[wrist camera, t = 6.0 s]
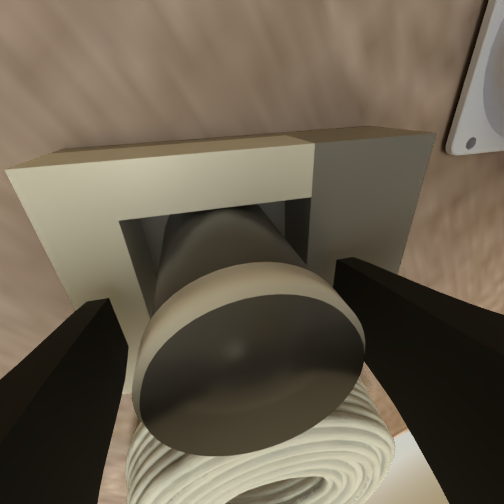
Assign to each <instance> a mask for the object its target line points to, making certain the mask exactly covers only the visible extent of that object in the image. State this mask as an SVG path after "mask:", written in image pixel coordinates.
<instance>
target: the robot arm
mask: <svg viewBox="0 0 504 504" xmlns="http://www.w3.org/2000/svg"><path fill="white" fill-rule="evenodd" d="M467 141H468V143H467ZM466 143H467V145H466ZM497 151H504V0H489V1H488V5H487V8H486V11H485V15H484V18H483V22H482V25H481V28H480V32H479V35H478V38H477V42H476V45H475V49H474V52H473V55H472V59H471V62H470V65H469V69H468V72H467V75H466V79H465V82H464V86H463V89H462V92H461V96H460V99H459V102H458V106H457V109H456V112H455V116H454V119H453V123H452V126H451V129H450V133H449V136H448V139H447V143H446V152H447V153H448V154H451V155H456V156H458V155H468V154H478V153H487V152H497ZM333 289H334V290H335V291H336V292H337V293H338V294H339V296H340V297H341V298H342V299H343V300H344V302H345V303H346V304H347V305H348V306H349V308H350V309H351V310H352V311H353V312H354V314H355V315H356V316H357V318H358V320H359V321H360V323H361V325H362V328H363V331H364V336H365V353H364V362H365V363H366V364H367V366H368V367H369V369H370V370H371V371H372V373H373V374H374V376H375V377H376V379H377V380H378V381H379V383H380V384H381V386H382V387H383V388H384V390H385V391H386V393H387V394H388V396H389V397H390V399H391V400H392V402H393V403H394V405H395V406H396V408H397V410H398V411H399V413H400V415H401V417H402V418H403V420H404V422H405V423H406V425H407V427H408V429H409V430H410V432H411V434H412V435H413V437H414V439H415V441H416V442H417V444H418V446H419V448H420V450H421V451H422V453H423V455H424V457H425V459H426V460H427V462H428V464H429V466H430V468H431V469H432V471H433V473H434V475H435V477H436V479H437V480H438V482H439V484H440V486H441V488H442V490H443V492H444V494H445V496H446V498H447V500H448V502H449V504H504V315H502V314H499V313H496V312H493V311H490V310H487V309H484V308H481V307H478V306H475V305H472V304H469V303H467V302H464V301H461V300H459V299H456V298H453V297H451V296H448V295H446V294H443V293H440V292H438V291H435V290H433V289H430V288H428V287H425V286H423V285H421V284H418V283H416V282H413V281H411V280H409V279H406V278H404V277H402V276H399V275H397V274H395V273H392V272H390V271H388V270H385V269H383V268H381V267H378V266H376V265H373V264H371V263H369V262H366V261H363V260H361V259H358V258H355V257H349V258H343V259H337V260H336V267H335V274H334V282H333ZM128 349H129V346H128V343H127V341H126V338H125V336H124V334H123V331H122V329H121V326H120V324H119V321H118V319H117V316H116V314H115V311H114V309H113V306H112V304H111V301H110V299H109V298H105V299H99V300H93V301H87V302H85V303H84V304H83V305H82V306H81V307H79V308H78V309H77V310H76V311H75V312H74V313H73V314H72V315H71V316H70V317H68V318H67V319H66V320H65V321H64V322H63V323H62V324H61V325H60V326H59V327H58V328H57V329H56V330H55V331H53V332H52V333H51V334H50V335H49V336H48V337H47V338H46V339H45V340H44V341H43V342H42V343H41V344H39V345H38V346H37V347H36V348H35V349H34V350H33V351H32V352H31V353H30V354H29V355H28V356H26V357H25V358H24V359H23V360H22V361H21V362H20V363H19V364H18V365H17V366H15V367H14V368H13V369H12V370H11V371H10V372H9V373H7V374H6V375H5V376H4V377H3V378H2V379H0V504H97V503H98V496H99V490H100V485H101V480H102V475H103V470H104V466H105V462H106V458H107V454H108V449H109V445H110V441H111V437H112V433H113V429H114V425H115V421H116V417H117V413H118V408H119V404H120V400H121V396H122V392H123V387H124V383H125V377H126V369H127V360H128Z"/></svg>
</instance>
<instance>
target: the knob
mask: <svg viewBox="0 0 504 504" xmlns="http://www.w3.org/2000/svg"><path fill="white" fill-rule="evenodd" d="M364 353H365V336H364V331H363V328H362V325H361V323H360V321H359V320H358V318H357V316H356V315H355V314H354V312H353V311H352V310H351V309H350V308H349V306H348V305H347V304H346V303H345V302H344V300H343V299H342V298H341V297H340V296H339V294H338V293H337V292H336V291H335V290H334V289H333V288H332V286H331V285H330V284H329V283H328V282H327V281H325V280H324V279H323V278H321V277H320V276H319V275H317V274H315V273H313V272H311V271H310V269H309V268H308V267H307V266H306V264H305V263H304V262H303V261H302V259H301V258H300V257H299V256H298V254H297V253H296V252H295V250H294V249H293V248H292V247H291V245H290V244H289V243H288V242H287V240H286V239H285V238H284V237H283V235H282V234H281V233H280V231H279V230H278V229H277V228H276V226H275V225H274V224H273V223H272V221H271V220H270V219H269V218H268V216H267V215H266V214H265V213H264V211H263V210H262V209H261V207H260V206H259V205H258V204H251V205H243V206H235V207H227V208H219V209H210V210H202V211H194V212H186V213H178V214H170V216H169V218H168V220H167V223H166V226H165V231H164V237H163V244H162V251H161V257H160V264H159V271H158V278H157V284H156V291H155V298H154V304H153V311H152V318H151V320H150V321H149V323H148V325H147V326H146V328H145V331H144V333H143V335H142V338H141V342H140V346H139V351H138V356H137V362H136V367H135V373H134V378H133V384H132V401H133V406H134V409H135V412H136V414H137V416H138V418H139V419H140V421H141V422H142V423H143V425H144V426H145V427H146V428H147V429H148V431H149V432H150V433H151V435H153V436H154V437H155V438H156V439H157V440H158V441H160V442H161V443H163V444H164V445H166V446H168V447H170V448H172V449H175V450H177V451H181V452H184V453H187V454H193V455H199V456H233V455H240V454H246V453H251V452H255V451H259V450H263V449H266V448H270V447H272V446H275V445H278V444H281V443H283V442H285V441H288V440H290V439H292V438H294V437H296V436H298V435H300V434H302V433H304V432H306V431H307V430H309V429H311V428H312V427H314V426H315V425H317V424H318V423H320V422H321V421H322V420H324V419H325V418H326V417H327V416H329V415H330V414H331V413H332V412H333V411H334V410H335V409H336V408H337V407H339V406H340V405H341V403H342V402H343V401H344V400H345V399H346V398H347V396H348V395H349V394H350V392H351V391H352V389H353V388H354V386H355V384H356V383H357V381H358V379H359V376H360V374H361V371H362V367H363V363H364Z"/></svg>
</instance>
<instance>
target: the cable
mask: <svg viewBox="0 0 504 504" xmlns="http://www.w3.org/2000/svg"><path fill="white" fill-rule="evenodd" d="M394 454H395V442H394V439H393V437H392V436H391V434H390V433H389V431H388V428H387V426H386V425H385V423H384V421H383V420H382V419H381V417H380V415H379V414H378V411H377V408H376V406H375V405H374V403H373V401H372V399H371V397H370V396H369V392H368V390H367V388H366V387H365V385H364V384H363V383H362V380H361V378H360V377H359V379H358V381H357V383H356V384H355V386H354V388H353V389H352V391H351V392H350V394H349V395H348V396H347V398H346V399H345V400H344V401H343V402H342V403H341V405H340V406H339V407H337V408H336V409H335V410H334V411H333V412H332V413H331V414H330V415H329V416H327V417H326V418H325V419H324V420H322V421H321V422H320V423H318V424H317V425H315V426H314V427H312V428H311V429H309V430H307V431H306V432H304V433H302V434H300V435H298V436H296V437H294V438H292V439H290V440H288V441H285V442H283V443H281V444H278V445H275V446H272V447H270V448H266V449H263V450H259V451H255V452H251V453H246V454H240V455H233V456H199V455H193V454H187V453H184V452H181V451H177V450H175V449H172V448H170V447H168V446H166V445H164V444H163V443H161V442H160V441H158V440H157V439H156V438H155V437H154V436H153V435H151V433H150V432H149V431H148V429H147V428H146V427H145V426H144V425H143V423H142V422H140V424H139V426H138V428H137V429H136V431H135V433H134V436H133V438H132V442H131V446H130V448H129V450H128V454H127V458H126V467H125V473H126V481H127V489H128V491H127V500H126V504H364V503H365V502H366V501H367V500H368V499H369V498H370V496H371V495H372V494H373V493H374V491H375V490H376V489H377V488H378V487H379V485H380V484H381V482H382V481H383V479H384V478H385V476H386V474H387V472H388V470H389V468H390V465H391V462H392V460H393V458H394Z"/></svg>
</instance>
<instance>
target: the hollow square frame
mask: <svg viewBox="0 0 504 504" xmlns="http://www.w3.org/2000/svg"><path fill="white" fill-rule="evenodd" d="M435 136H436V133H431V132H422V131H412V130H403V129H393V128H384V127H374V126H363V127H350V128H337V129H323V130H310V131H297V132H284V133H271V134H257V135H244V136H231V137H218V138H205V139H191V140H178V141H165V142H152V143H139V144H125V145H112V146H99V147H86V148H73V149H62V150H59V151H56V152H53V153H51V154H48V155H45V156H42V157H39V158H36V159H34V160H31V161H28V162H25V163H22V164H19V165H16V166H14V167H11V168H8V169H5V172H6V174H7V176H8V178H9V180H10V182H11V184H12V186H13V187H14V189H15V191H16V193H17V195H18V197H19V199H20V201H21V203H22V205H23V207H24V209H25V211H26V213H27V215H28V217H29V219H30V221H31V223H32V225H33V227H34V229H35V231H36V233H37V235H38V237H39V239H40V241H41V243H42V245H43V247H44V249H45V251H46V253H47V255H48V257H49V259H50V261H51V263H52V265H53V267H54V269H55V271H56V273H57V275H58V277H59V279H60V281H61V283H62V285H63V287H64V289H65V291H66V293H67V295H68V297H69V299H70V301H71V303H72V305H73V307H74V309H75V311H76V310H77V309H78V308H79V307H81V306H82V305H83V304H84V303H85V302H87V301H93V300H99V299H105V298H109V299H110V301H111V304H112V306H113V309H114V311H115V314H116V316H117V319H118V321H119V324H120V326H121V329H122V331H123V334H124V336H125V338H126V341H127V343H128V346H129V349H128V360H127V369H126V377H125V383H124V387H123V392H122V395H124V394H128V393H132V384H133V378H134V373H135V367H136V362H137V356H138V351H139V346H140V342H141V338H142V335H143V333H144V331H145V328H146V326H147V325H148V323H149V321H150V320H151V318H152V311H153V304H154V298H155V291H156V284H157V278H158V271H159V264H160V257H161V251H162V244H163V237H164V231H165V226H166V223H167V220H168V218H169V216H170V214H178V213H186V212H194V211H202V210H210V209H219V208H227V207H235V206H243V205H251V204H258V205H259V206H260V207H261V209H262V210H263V211H264V213H265V214H266V215H267V216H268V218H269V219H270V220H271V221H272V223H273V224H274V225H275V226H276V228H277V229H278V230H279V231H280V233H281V234H282V235H283V237H284V238H285V239H286V240H287V242H288V243H289V244H290V245H291V247H292V248H293V249H294V250H295V252H296V253H297V254H298V256H299V257H300V258H301V259H302V261H303V262H304V263H305V264H306V266H307V267H308V268H309V269H310V271H311V272H313V273H315V274H317V275H319V276H320V277H321V278H323V279H324V280H325V281H327V282H328V283H329V284H330V285H331V286H332V288H333V282H334V274H335V267H336V260H337V259H343V258H349V257H355V258H358V259H361V260H363V261H366V262H369V263H371V264H373V265H376V266H378V267H381V268H383V269H385V270H388V271H390V272H392V273H395V274H397V275H398V271H399V267H400V264H401V260H402V256H403V253H404V249H405V246H406V242H407V238H408V235H409V231H410V227H411V224H412V220H413V216H414V213H415V209H416V205H417V202H418V198H419V195H420V191H421V187H422V184H423V180H424V176H425V173H426V169H427V165H428V162H429V158H430V155H431V151H432V147H433V144H434V140H435Z"/></svg>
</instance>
